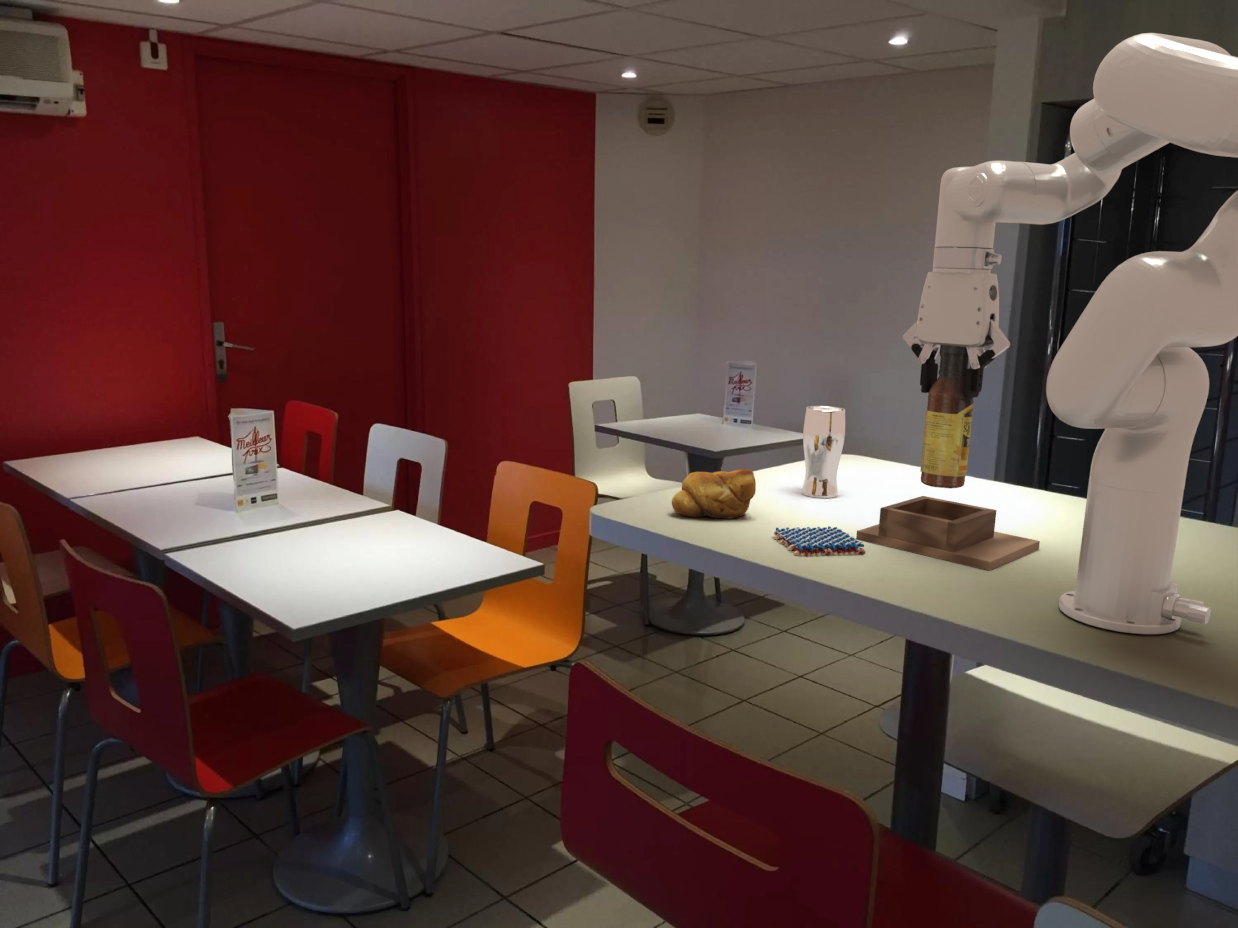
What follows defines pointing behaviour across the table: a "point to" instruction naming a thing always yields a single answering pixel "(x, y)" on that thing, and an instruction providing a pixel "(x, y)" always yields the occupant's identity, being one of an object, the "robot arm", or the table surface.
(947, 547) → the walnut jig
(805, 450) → the beer glass
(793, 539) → the woven mat
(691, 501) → the bread roll
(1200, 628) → the table surface
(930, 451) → the sauce bottle
